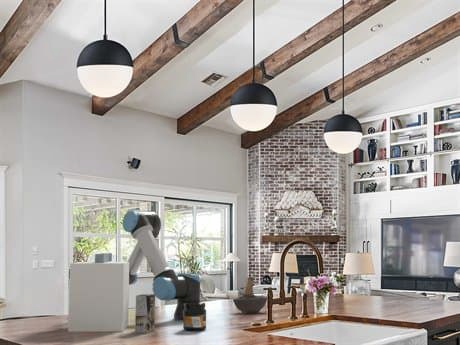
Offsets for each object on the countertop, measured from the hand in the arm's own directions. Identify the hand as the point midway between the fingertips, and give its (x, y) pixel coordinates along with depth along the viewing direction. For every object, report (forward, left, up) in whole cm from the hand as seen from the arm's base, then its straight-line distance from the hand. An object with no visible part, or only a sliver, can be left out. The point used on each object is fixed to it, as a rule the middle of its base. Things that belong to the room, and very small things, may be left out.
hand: (108, 266), depth 315 cm
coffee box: (-22, +36, -27) cm, 50 cm away
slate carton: (0, +18, +3) cm, 18 cm away
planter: (-74, -36, -27) cm, 87 cm away
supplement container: (-44, +32, -27) cm, 61 cm away
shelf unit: (0, +26, -27) cm, 37 cm away
